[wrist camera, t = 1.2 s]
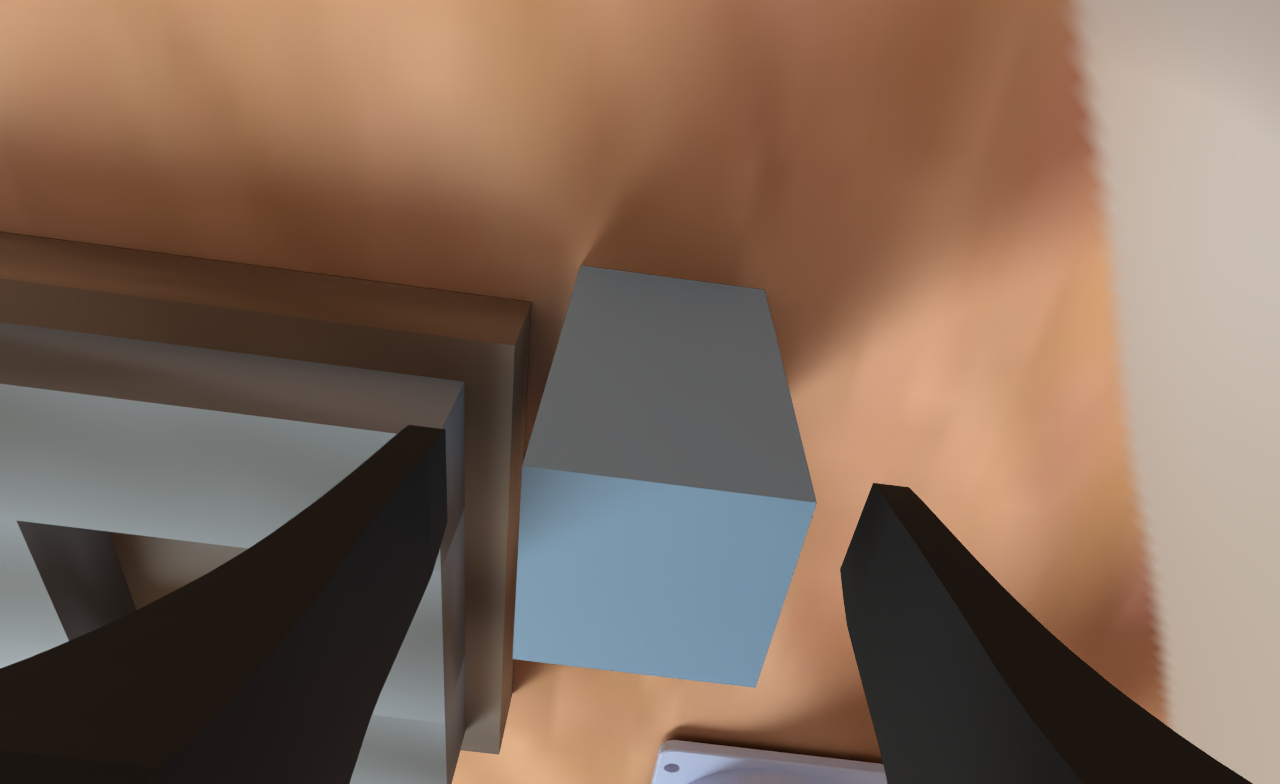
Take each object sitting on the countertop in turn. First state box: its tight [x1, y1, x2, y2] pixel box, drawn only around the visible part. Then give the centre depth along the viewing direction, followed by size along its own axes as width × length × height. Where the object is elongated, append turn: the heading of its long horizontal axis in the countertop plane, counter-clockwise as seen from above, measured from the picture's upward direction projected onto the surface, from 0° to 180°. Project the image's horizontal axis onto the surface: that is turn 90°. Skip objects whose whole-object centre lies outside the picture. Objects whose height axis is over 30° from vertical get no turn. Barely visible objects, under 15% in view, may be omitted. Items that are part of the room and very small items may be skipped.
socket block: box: [0, 232, 532, 784], centre depth 18 cm, size 14×14×4 cm
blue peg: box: [513, 265, 817, 688], centre depth 14 cm, size 4×4×7 cm
